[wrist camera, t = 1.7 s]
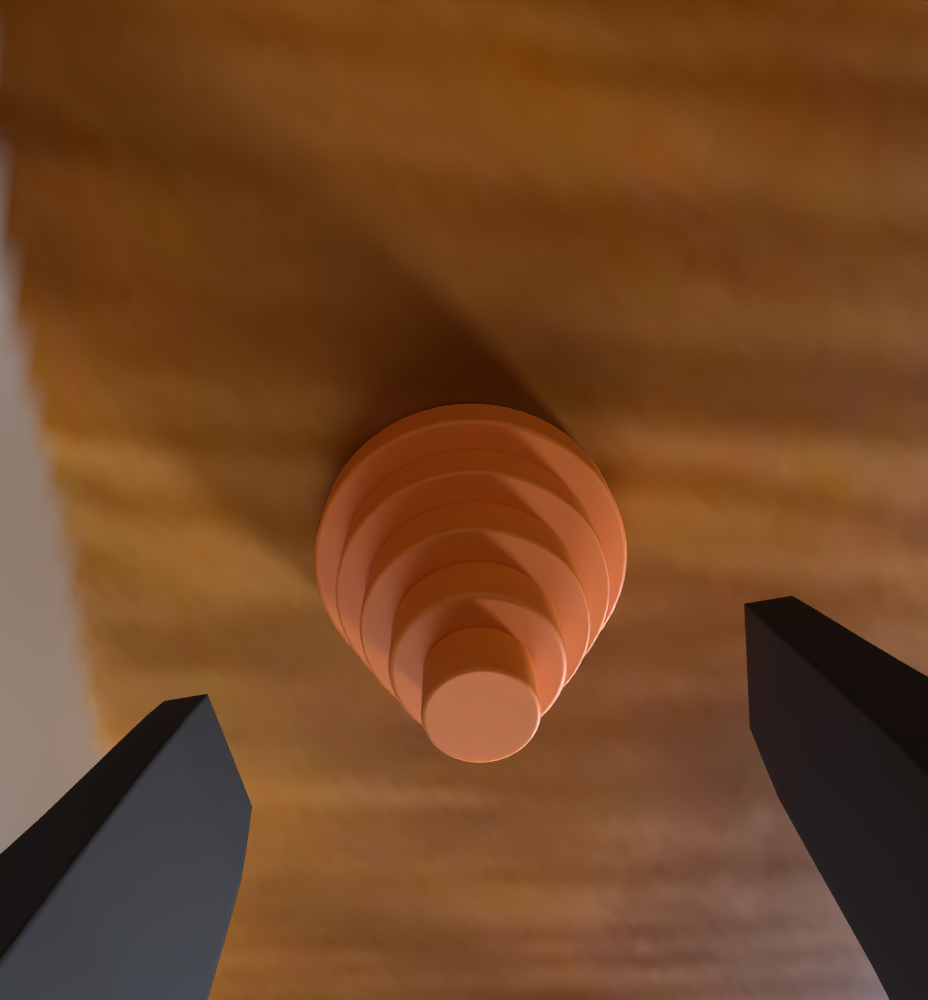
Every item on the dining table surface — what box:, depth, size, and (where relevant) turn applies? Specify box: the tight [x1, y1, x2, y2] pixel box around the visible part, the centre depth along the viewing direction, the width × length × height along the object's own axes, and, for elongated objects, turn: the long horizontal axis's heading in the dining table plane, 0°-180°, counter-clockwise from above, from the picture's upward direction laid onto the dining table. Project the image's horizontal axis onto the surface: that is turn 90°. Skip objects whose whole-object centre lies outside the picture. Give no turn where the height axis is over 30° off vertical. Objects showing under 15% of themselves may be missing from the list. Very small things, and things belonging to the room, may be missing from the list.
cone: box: [314, 404, 627, 762], centre depth 13 cm, size 6×6×5 cm
